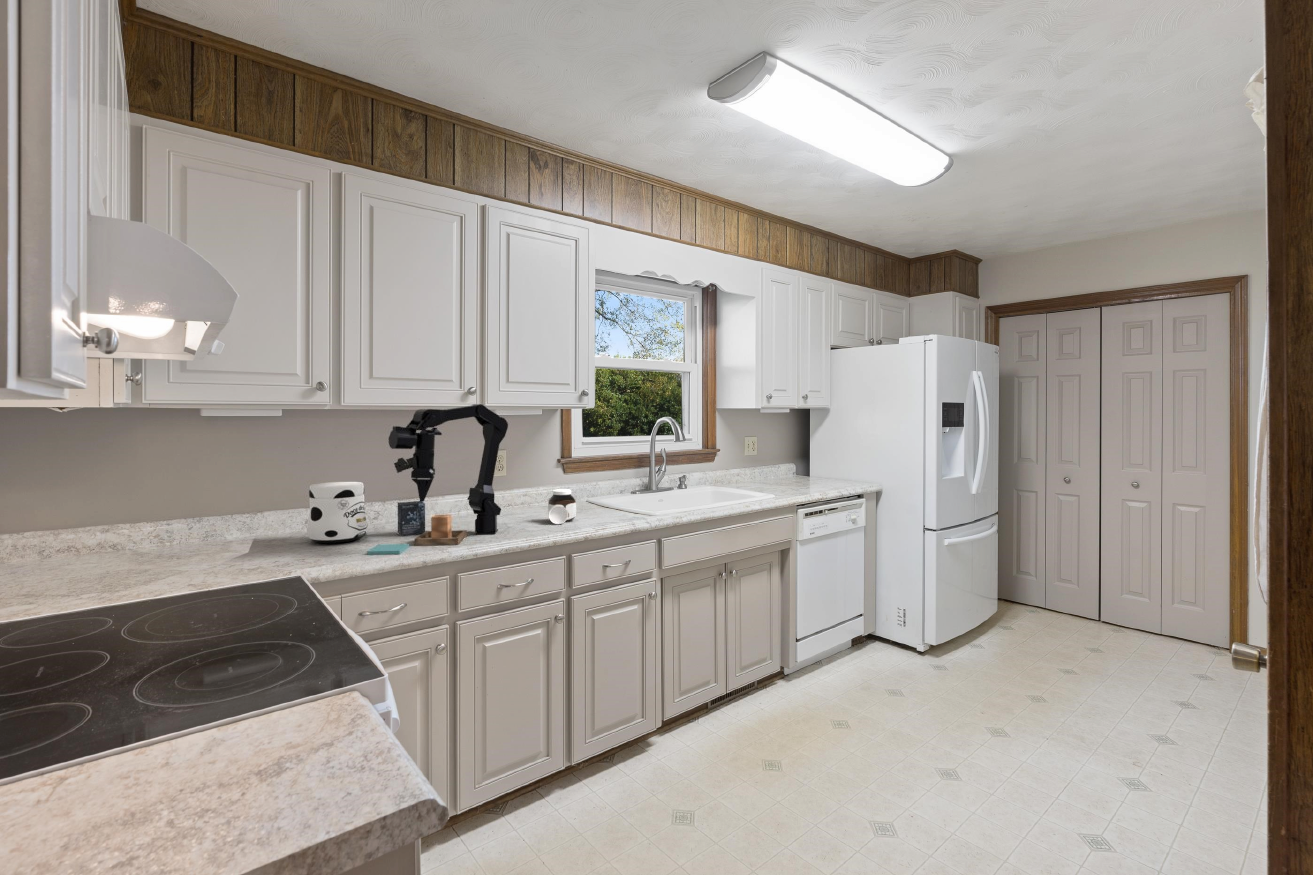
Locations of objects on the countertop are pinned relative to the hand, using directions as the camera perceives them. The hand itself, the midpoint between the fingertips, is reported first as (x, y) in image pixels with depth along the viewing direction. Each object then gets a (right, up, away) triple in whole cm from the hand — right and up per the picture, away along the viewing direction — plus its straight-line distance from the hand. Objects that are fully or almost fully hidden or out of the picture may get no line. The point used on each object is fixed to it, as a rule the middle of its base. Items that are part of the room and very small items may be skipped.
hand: (422, 499), depth 190 cm
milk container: (-29, -14, +5) cm, 32 cm away
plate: (-6, -14, -9) cm, 18 cm away
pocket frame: (+4, -14, +5) cm, 15 cm away
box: (-10, -13, +16) cm, 23 cm away
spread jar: (+37, -12, +38) cm, 55 cm away
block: (+4, -14, +5) cm, 15 cm away
